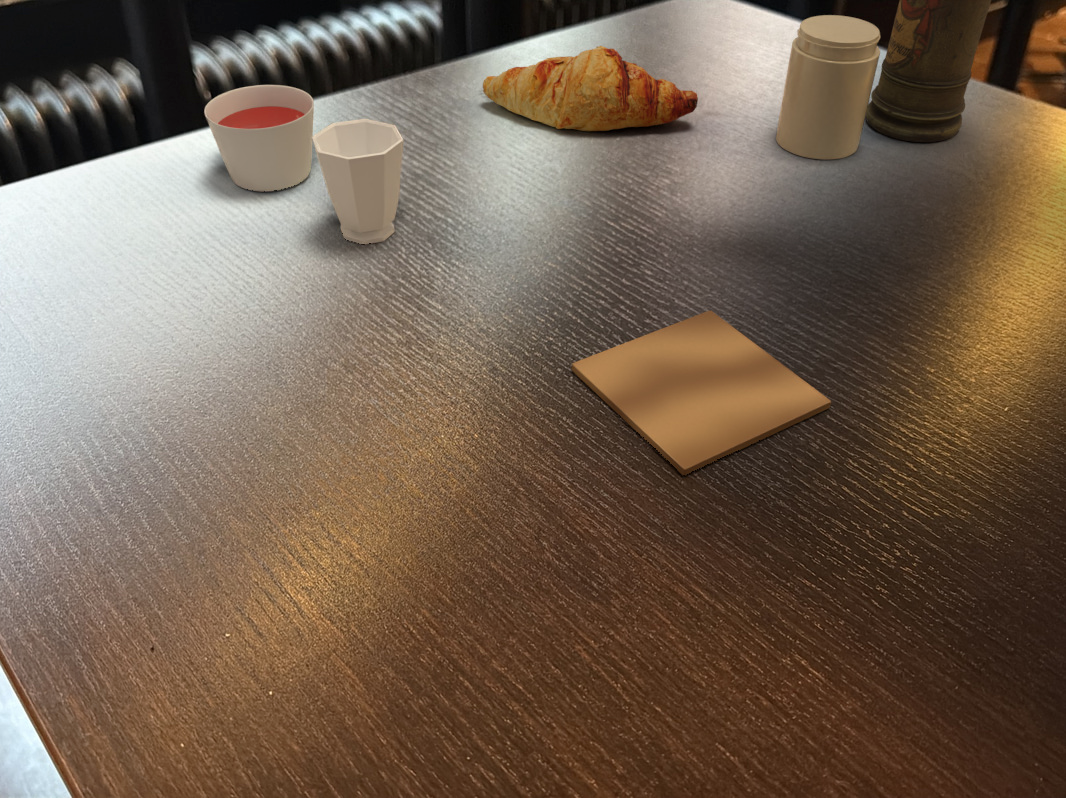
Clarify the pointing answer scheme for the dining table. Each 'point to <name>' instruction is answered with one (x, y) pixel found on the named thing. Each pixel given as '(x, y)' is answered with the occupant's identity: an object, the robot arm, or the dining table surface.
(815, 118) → the jar
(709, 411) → the coaster
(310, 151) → the candle
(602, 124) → the croissant
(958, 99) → the container
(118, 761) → the dining table surface
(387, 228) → the cup
